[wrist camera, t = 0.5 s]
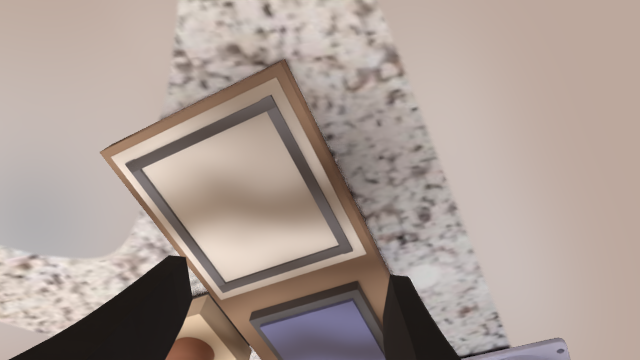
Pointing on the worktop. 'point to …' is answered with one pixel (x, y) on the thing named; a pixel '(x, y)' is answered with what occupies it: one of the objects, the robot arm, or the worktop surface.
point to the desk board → (263, 219)
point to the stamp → (208, 334)
